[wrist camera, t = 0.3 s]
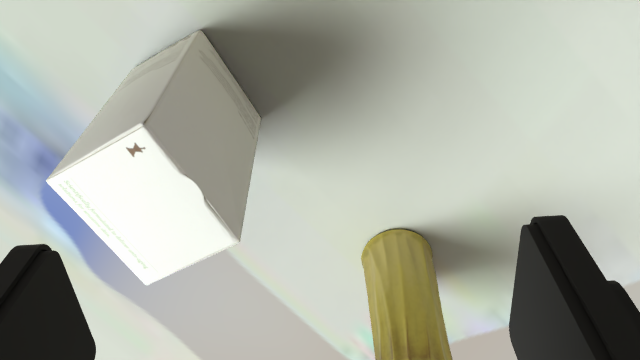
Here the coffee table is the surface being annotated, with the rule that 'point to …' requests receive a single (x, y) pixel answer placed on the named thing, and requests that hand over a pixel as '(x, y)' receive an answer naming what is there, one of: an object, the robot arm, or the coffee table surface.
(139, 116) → the skincare box
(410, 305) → the vase
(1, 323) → the robot arm
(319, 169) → the coffee table surface
